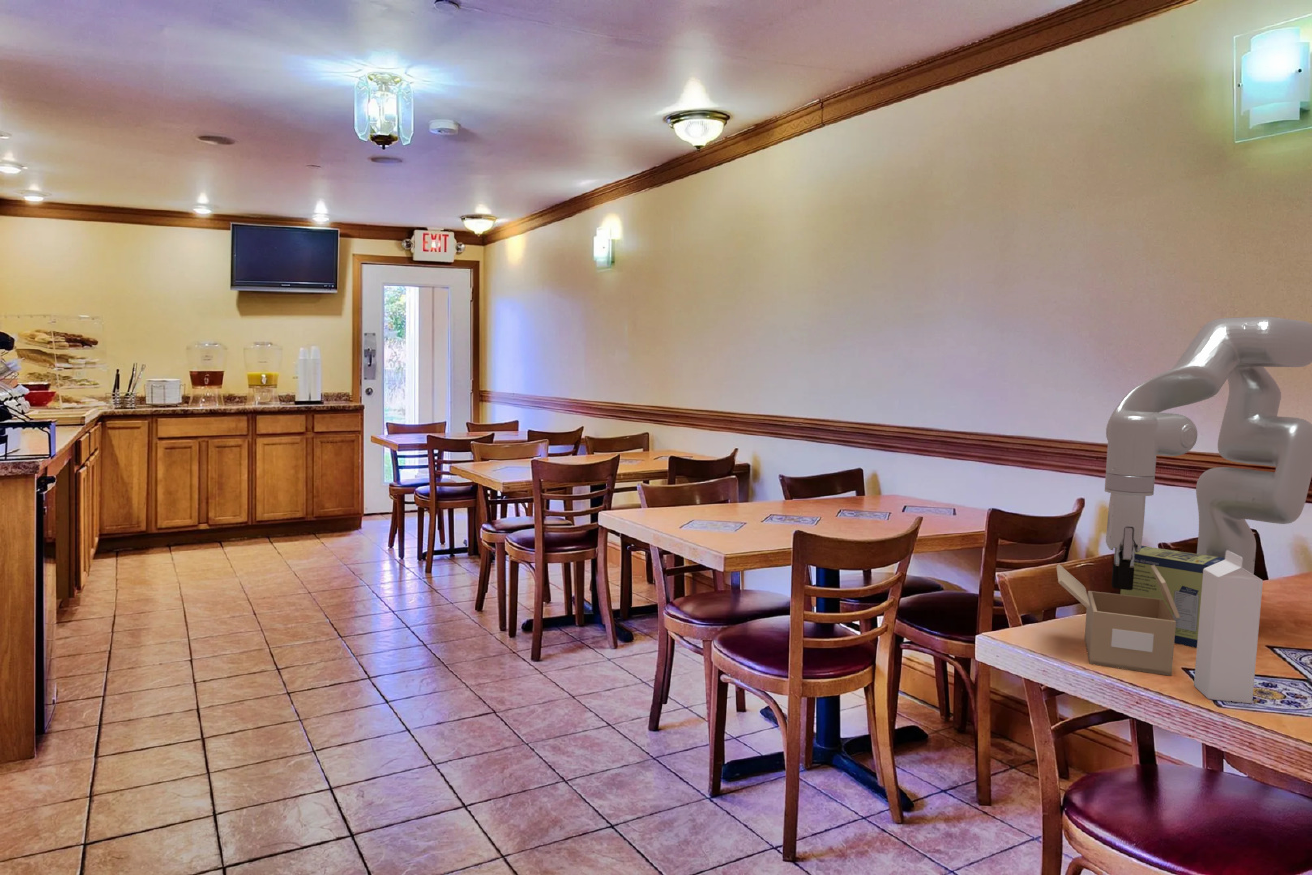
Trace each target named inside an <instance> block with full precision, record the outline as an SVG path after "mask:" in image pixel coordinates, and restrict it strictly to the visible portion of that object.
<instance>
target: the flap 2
mask: <svg viewBox="0 0 1312 875" xmlns="http://www.w3.org/2000/svg"><path fill="white" fill-rule="evenodd" d="M1151 568H1152V570H1153V573H1154V575H1155V578H1156V580H1157V582H1158V585H1159V587H1160V590H1161V592H1162V594H1163V597H1164V599H1165V600H1166V602H1167V604H1168V605H1169V607H1170V609H1171V610H1172V612H1173V614H1174V615H1175V617H1176V618H1179V617H1180V615H1179V613H1178V610H1177V608H1176V606H1175V603H1174V601H1173V598H1172V596H1171V594H1170V591H1169V589H1168V586H1167V584H1166V582H1165V580H1164V579H1163V577H1162V576H1161V574H1160V573H1159V571H1158V570H1157V568H1156V567H1155V565H1152V566H1151Z"/></svg>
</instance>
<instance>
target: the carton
mask: <svg viewBox="0 0 1312 875" xmlns="http://www.w3.org/2000/svg"><path fill="white" fill-rule="evenodd" d="M1087 596H1088V600H1089V604H1090V606H1089V607H1088V608H1086V612H1085V614H1086V615H1085V628H1084V629H1085V630H1084V642H1086V643H1085V647H1087V648H1086V651H1087V652H1088V653H1087V657H1088V662H1089V665H1093V664H1095V666H1100V665H1101V667H1109V668H1114V667H1117V668H1116V669H1121V668H1123V669H1122V670H1127V669H1128V671H1129V670H1130V671H1136V672H1141V671H1142V672H1143V673H1147V674H1149V673H1150V674H1157V675H1163V676H1170V677H1171V676H1173V665H1174V664H1173V663H1174V654H1175V653H1174V651H1175V650H1174V649H1175V643H1174V640H1175V628H1176V621H1175V619H1174V618H1173V616H1172V614H1171V613H1170V611H1169V609H1168V608H1167V606H1166V604H1165V603H1164V601H1163V599H1155V598H1147V597H1138V596H1130V595H1121V594H1120V593H1111V592H1103V591H1101V592H1100V591H1095V590H1088V591H1087ZM1118 667H1119V668H1118Z"/></svg>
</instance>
